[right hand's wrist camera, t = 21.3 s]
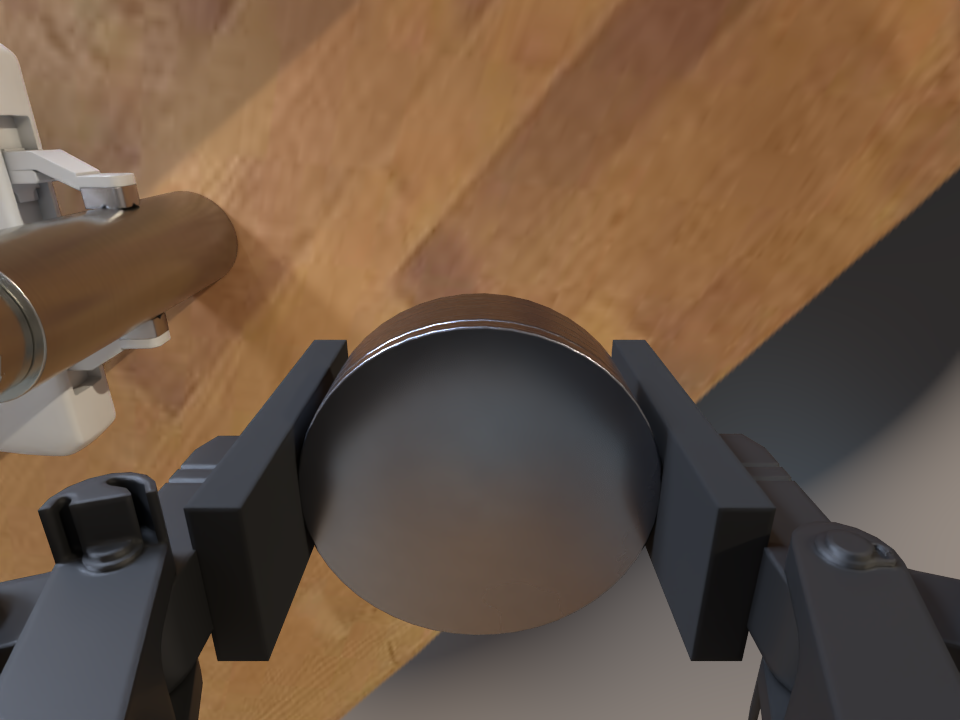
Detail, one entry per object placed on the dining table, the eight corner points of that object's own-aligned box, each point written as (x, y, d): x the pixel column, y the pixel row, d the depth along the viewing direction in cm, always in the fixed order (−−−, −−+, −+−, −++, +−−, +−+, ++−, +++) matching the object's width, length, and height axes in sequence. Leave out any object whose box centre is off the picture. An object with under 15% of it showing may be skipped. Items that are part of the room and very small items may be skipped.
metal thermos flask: (141, 271, 35) (-173, 407, 18) (146, 179, 33) (-203, 236, 16) (233, 294, 36) (9, 446, 19) (243, 205, 34) (3, 285, 17)
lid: (671, 320, 11) (710, 359, 9) (593, 580, 13) (612, 653, 11) (336, 267, 11) (306, 296, 9) (316, 544, 13) (289, 613, 11)
